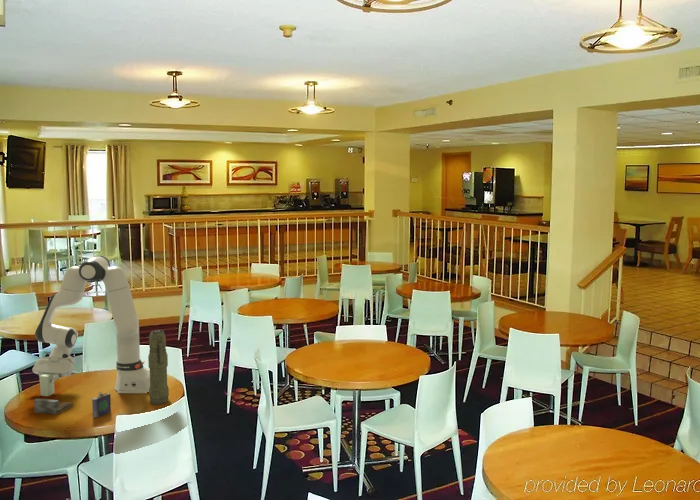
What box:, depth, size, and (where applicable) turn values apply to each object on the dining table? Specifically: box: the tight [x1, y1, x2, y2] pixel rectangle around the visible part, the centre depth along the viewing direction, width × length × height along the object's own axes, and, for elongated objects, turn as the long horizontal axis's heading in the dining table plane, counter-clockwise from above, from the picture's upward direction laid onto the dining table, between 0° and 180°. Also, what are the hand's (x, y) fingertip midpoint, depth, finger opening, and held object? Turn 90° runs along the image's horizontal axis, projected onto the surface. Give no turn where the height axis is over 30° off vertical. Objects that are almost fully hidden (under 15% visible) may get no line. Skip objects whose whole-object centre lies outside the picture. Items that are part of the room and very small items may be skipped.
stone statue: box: [147, 329, 170, 405], centre depth 284 cm, size 9×12×35 cm
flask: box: [91, 391, 112, 419], centre depth 268 cm, size 9×3×11 cm, turn 151°
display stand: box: [33, 398, 74, 415], centre depth 274 cm, size 12×11×6 cm
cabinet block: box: [39, 373, 55, 397], centre depth 293 cm, size 4×4×10 cm
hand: (46, 382), depth 293 cm, fingers closed on cabinet block, 4 cm apart
